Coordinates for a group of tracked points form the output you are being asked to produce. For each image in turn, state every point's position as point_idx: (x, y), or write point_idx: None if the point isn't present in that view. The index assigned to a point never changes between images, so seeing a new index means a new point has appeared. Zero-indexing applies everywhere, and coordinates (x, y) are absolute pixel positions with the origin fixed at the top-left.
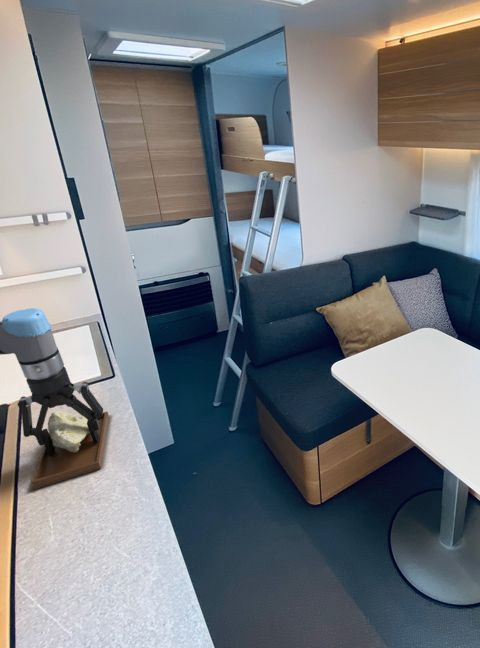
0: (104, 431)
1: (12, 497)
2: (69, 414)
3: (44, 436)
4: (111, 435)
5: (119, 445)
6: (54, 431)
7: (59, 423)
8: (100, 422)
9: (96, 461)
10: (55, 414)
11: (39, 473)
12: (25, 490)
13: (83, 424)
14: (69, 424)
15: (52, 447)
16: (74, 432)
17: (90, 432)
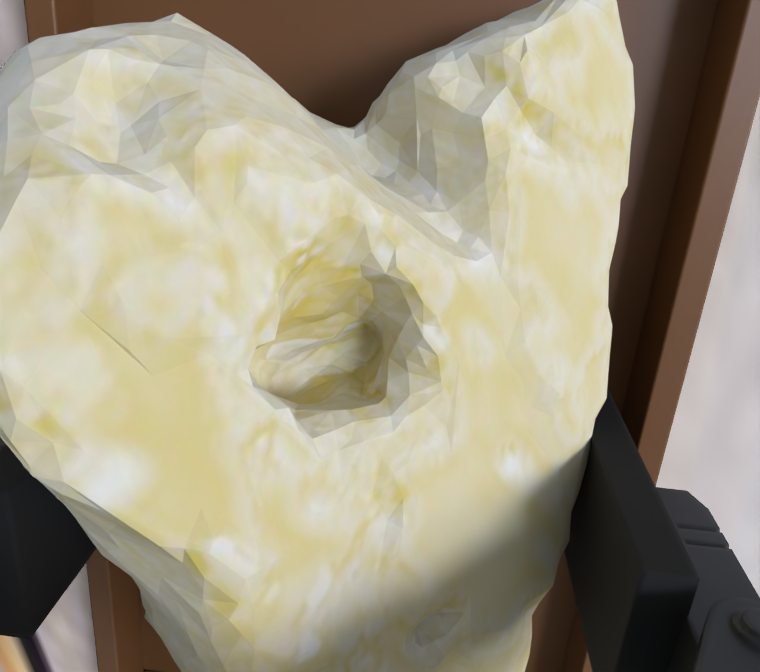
0: (679, 368)
1: (15, 655)
2: (306, 239)
3: (39, 623)
4: (708, 349)
5: (744, 546)
6: (150, 622)
7: (197, 640)
8: (644, 28)
9: None
10: (48, 473)
11: (129, 603)
12: (78, 640)
13: (511, 433)
14: (348, 602)
15: None
16: None
17: (576, 581)
